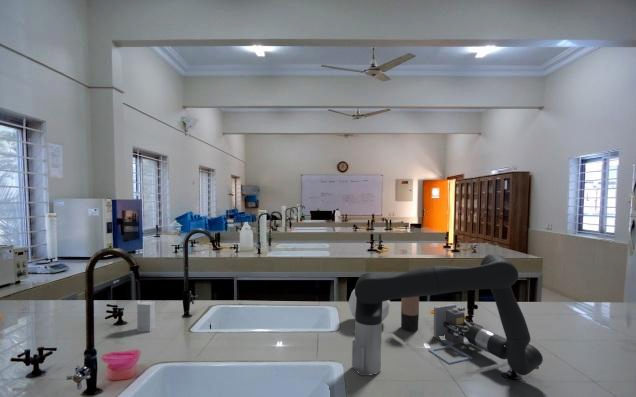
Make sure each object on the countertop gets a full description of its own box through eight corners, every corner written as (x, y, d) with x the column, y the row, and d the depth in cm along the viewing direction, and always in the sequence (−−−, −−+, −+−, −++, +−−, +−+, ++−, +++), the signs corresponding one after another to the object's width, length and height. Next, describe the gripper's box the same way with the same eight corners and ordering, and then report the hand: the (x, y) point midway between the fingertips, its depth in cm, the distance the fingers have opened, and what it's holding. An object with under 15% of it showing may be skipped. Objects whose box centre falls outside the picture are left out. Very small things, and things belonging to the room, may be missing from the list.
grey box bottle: (454, 343, 137) (455, 311, 136) (445, 338, 142) (446, 307, 141) (463, 341, 139) (464, 310, 138) (454, 336, 143) (455, 306, 143)
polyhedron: (375, 341, 156) (380, 317, 144) (339, 317, 166) (341, 293, 154) (394, 312, 168) (400, 287, 156) (360, 292, 178) (363, 267, 165)
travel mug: (414, 336, 146) (415, 290, 146) (397, 332, 151) (398, 287, 150) (420, 331, 152) (421, 287, 152) (404, 326, 157) (405, 283, 157)
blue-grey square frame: (449, 368, 121) (449, 362, 120) (428, 354, 131) (428, 349, 131) (472, 362, 125) (472, 357, 125) (450, 349, 135) (450, 344, 135)
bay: (449, 349, 135) (450, 314, 135) (433, 339, 144) (434, 306, 143) (470, 344, 139) (471, 311, 139) (453, 335, 148) (454, 303, 148)
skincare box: (155, 328, 151) (155, 301, 151) (149, 332, 147) (150, 304, 147) (142, 327, 152) (142, 301, 152) (136, 331, 148) (136, 304, 147)
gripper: (497, 326, 129) (464, 311, 145) (469, 331, 124) (437, 315, 139) (497, 345, 130) (463, 329, 145) (468, 351, 124) (437, 333, 139)
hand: (450, 322), depth 142 cm, fingers open, 7 cm apart
